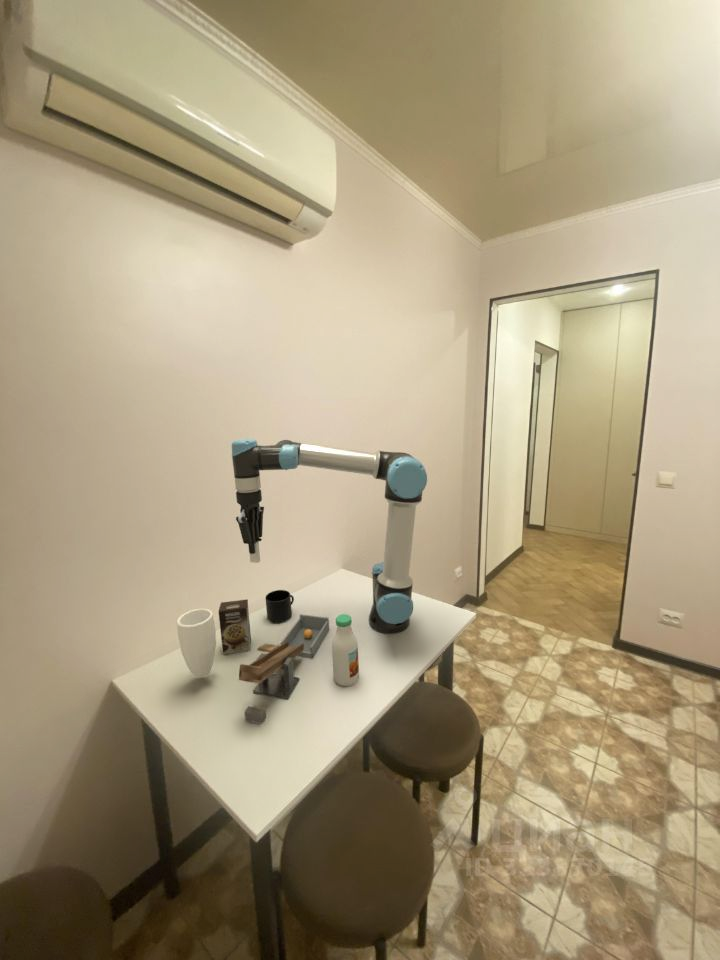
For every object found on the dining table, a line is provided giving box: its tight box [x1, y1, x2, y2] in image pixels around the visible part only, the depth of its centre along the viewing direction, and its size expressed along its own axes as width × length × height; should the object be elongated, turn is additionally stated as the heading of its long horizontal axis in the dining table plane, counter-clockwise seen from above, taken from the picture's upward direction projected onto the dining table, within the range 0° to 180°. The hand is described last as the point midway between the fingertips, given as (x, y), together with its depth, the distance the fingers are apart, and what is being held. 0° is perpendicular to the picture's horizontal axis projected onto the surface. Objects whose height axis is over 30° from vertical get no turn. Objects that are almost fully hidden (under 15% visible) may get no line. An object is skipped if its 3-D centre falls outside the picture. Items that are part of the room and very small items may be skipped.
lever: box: [238, 641, 304, 685], centre depth 113 cm, size 14×28×5 cm, turn 165°
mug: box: [265, 589, 295, 624], centre depth 151 cm, size 9×12×9 cm
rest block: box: [244, 705, 267, 724], centre depth 102 cm, size 5×2×2 cm, turn 75°
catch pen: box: [280, 614, 330, 659], centre depth 134 cm, size 11×16×5 cm
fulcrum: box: [252, 653, 300, 700], centre depth 113 cm, size 11×8×9 cm
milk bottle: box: [331, 613, 360, 687], centre depth 114 cm, size 8×8×20 cm
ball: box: [304, 629, 313, 638], centre depth 136 cm, size 3×3×3 cm
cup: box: [176, 608, 217, 679], centre depth 115 cm, size 10×10×22 cm
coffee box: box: [218, 599, 252, 656], centre depth 131 cm, size 9×6×16 cm
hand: (255, 561), depth 124 cm, fingers closed
